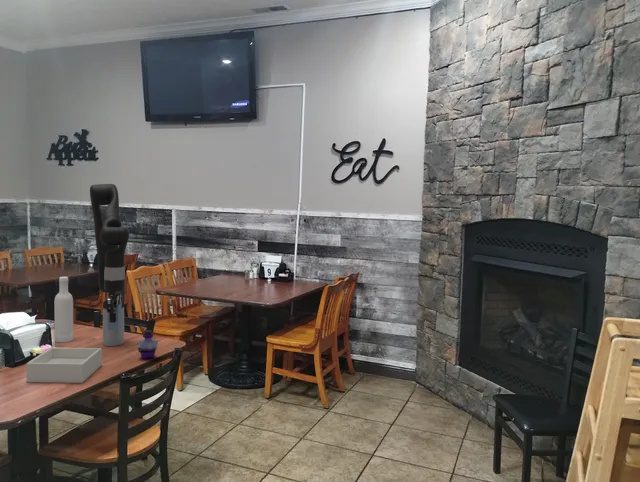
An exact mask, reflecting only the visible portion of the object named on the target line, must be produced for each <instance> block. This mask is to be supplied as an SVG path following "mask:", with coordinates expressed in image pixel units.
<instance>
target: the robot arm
mask: <svg viewBox="0 0 640 482" xmlns="http://www.w3.org/2000/svg"><path fill="white" fill-rule="evenodd" d="M89 196H90V197H89V198H90V205H91V209H92V215H93V224H94V225H93V226H94V239H95V248H96V254H97V255H96V256H97V261H98V263H97V264H98V265H97V267H98V287H99V290H100V292H102V293H107V294H108V295H107V298H105V300H104V301H102V345H103V346H107V347H117V346H121V345H124V343H125V298H126V297H125V294H126V293H125V292H126V272H125V254H126V248H127V245H128V242H129V239H130V232H129V230H128V228H126V227H124V226H122V220H121V216H120V200H119V198H120V197H119V192H118V187H117V185H115V184H114V183H102V184H101V183H100V184H99V183H97V184H92V185H90V188H89ZM103 206H104V207H105V208H104V209H103V210H101V207H103ZM118 303H121V328H120V329H119V330H108V313H110V322H111V323H115V322H116V307H117V305H118ZM114 304H115V305H114ZM111 308H112V309H111Z"/></svg>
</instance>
